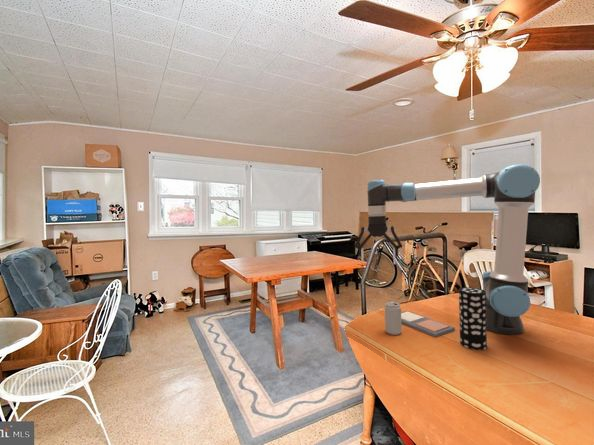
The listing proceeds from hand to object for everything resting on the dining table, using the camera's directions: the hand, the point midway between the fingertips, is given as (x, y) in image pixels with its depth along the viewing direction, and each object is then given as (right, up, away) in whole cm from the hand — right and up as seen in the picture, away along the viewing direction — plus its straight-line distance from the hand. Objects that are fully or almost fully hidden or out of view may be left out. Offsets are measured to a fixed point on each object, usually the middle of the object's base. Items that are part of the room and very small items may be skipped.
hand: (378, 263), depth 126 cm
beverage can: (+4, -27, -9) cm, 29 cm away
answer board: (+18, -26, -2) cm, 32 cm away
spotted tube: (+28, -27, -22) cm, 45 cm away
